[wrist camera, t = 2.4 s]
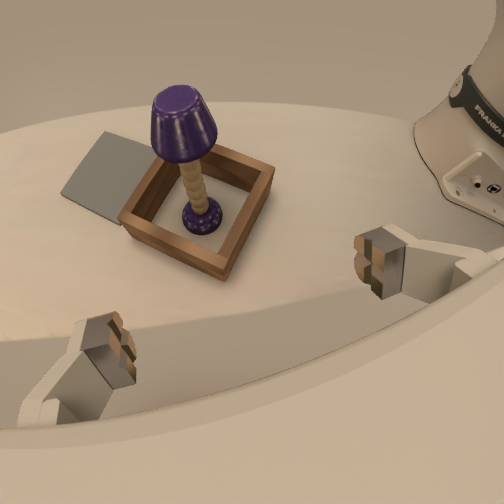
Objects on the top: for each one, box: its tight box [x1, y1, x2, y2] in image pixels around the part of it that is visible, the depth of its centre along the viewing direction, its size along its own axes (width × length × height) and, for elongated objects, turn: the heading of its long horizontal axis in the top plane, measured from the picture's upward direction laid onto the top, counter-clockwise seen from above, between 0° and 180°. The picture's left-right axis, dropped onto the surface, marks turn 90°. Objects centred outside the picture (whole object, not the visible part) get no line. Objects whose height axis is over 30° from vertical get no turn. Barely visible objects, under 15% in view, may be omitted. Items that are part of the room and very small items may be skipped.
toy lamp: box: [151, 85, 222, 235], centre depth 24 cm, size 5×5×17 cm
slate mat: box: [60, 131, 157, 226], centre depth 33 cm, size 10×10×1 cm
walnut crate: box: [117, 144, 275, 282], centre depth 30 cm, size 11×11×5 cm
